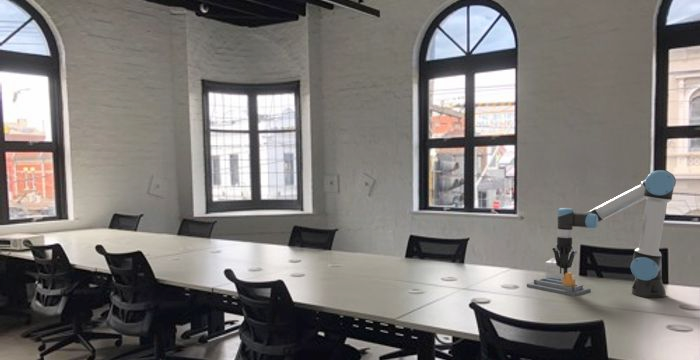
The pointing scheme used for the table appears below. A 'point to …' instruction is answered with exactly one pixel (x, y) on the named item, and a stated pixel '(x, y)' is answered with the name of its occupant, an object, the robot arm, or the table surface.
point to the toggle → (568, 280)
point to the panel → (558, 287)
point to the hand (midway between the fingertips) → (563, 279)
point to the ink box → (552, 270)
